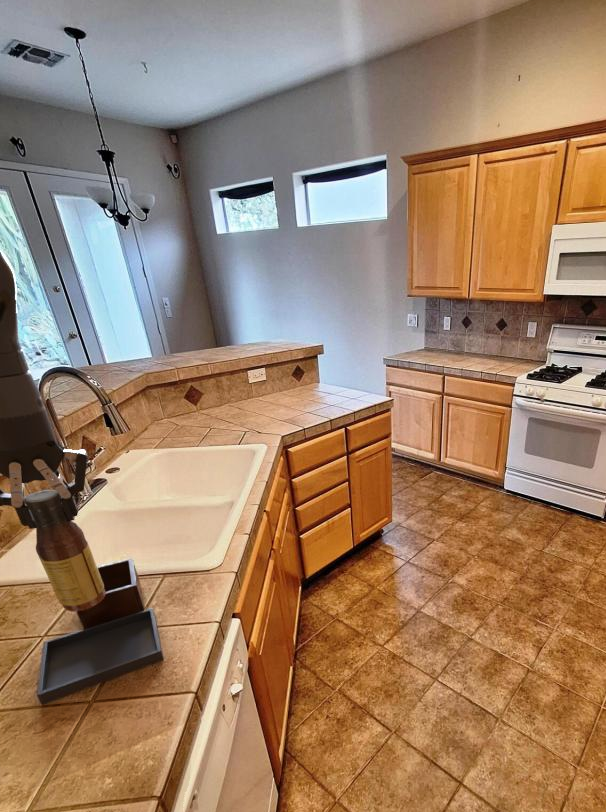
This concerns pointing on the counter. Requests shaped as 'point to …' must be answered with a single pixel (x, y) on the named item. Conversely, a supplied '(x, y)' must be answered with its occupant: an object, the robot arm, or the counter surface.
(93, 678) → the tray
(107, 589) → the caddy
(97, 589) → the sauce bottle
